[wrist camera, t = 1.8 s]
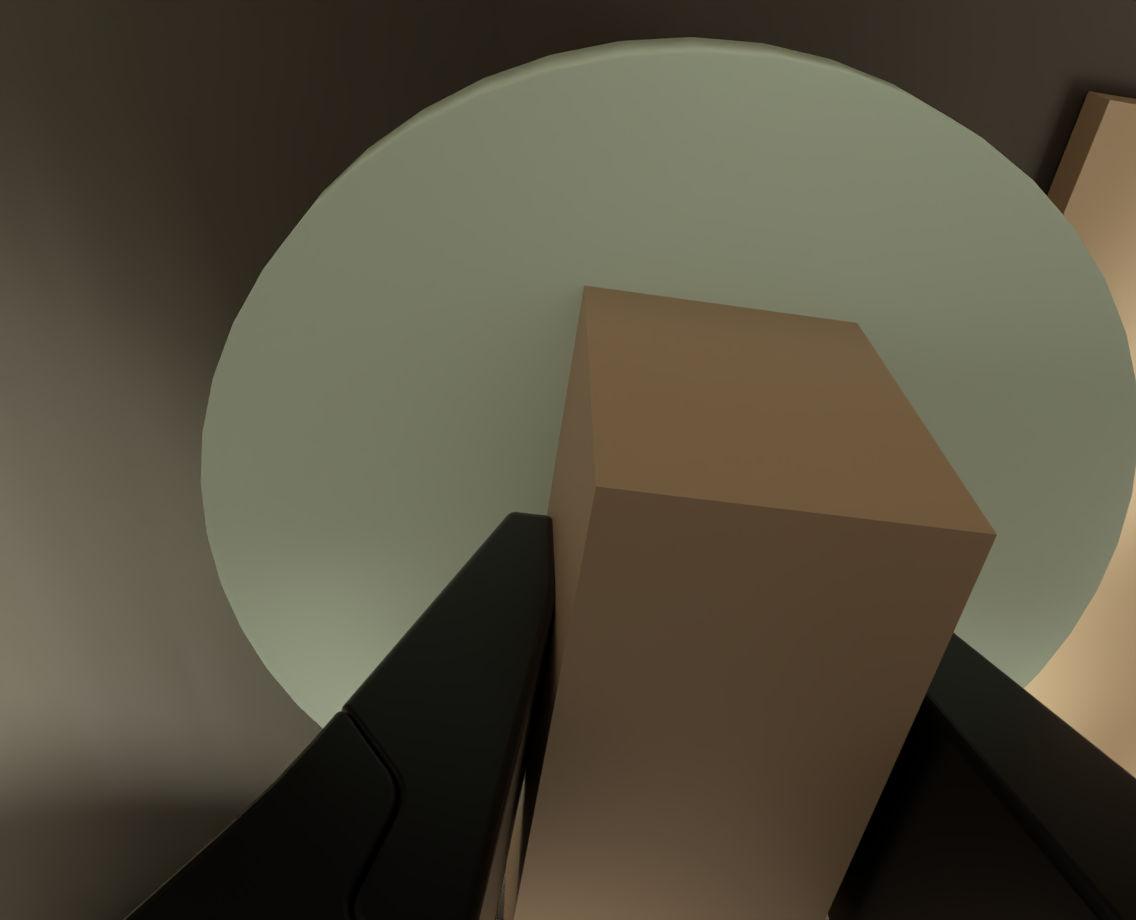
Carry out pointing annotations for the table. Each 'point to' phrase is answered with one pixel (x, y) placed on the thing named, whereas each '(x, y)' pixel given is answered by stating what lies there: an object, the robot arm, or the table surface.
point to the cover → (680, 444)
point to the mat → (1132, 579)
